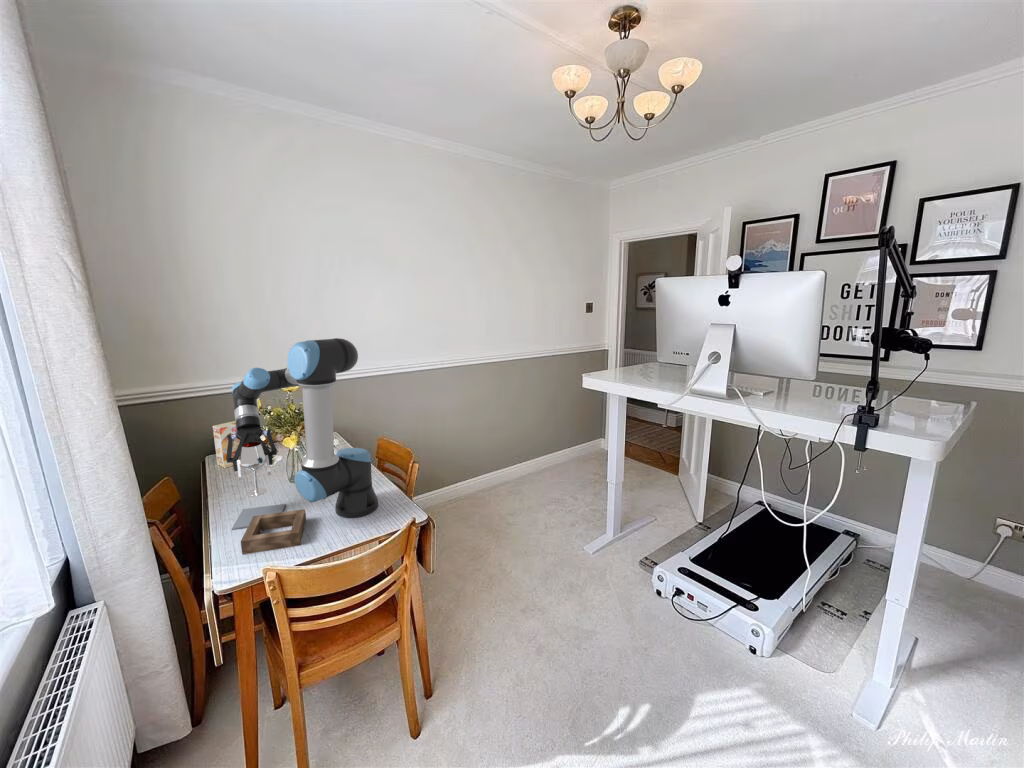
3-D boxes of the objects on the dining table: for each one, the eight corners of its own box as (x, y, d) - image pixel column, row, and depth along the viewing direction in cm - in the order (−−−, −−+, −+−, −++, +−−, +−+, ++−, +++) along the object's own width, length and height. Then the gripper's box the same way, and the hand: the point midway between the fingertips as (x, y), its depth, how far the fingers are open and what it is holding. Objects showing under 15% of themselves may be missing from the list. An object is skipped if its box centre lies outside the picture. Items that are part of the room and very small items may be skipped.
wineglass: (274, 487, 152) (269, 440, 149) (262, 497, 144) (256, 448, 141) (251, 487, 152) (246, 440, 149) (238, 497, 144) (232, 448, 141)
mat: (285, 505, 159) (285, 503, 159) (278, 523, 146) (278, 521, 146) (243, 510, 154) (242, 509, 154) (232, 530, 141) (231, 528, 141)
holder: (306, 520, 148) (305, 508, 147) (299, 545, 133) (298, 532, 132) (254, 528, 143) (253, 516, 142) (242, 554, 128) (240, 541, 127)
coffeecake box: (224, 468, 192) (219, 428, 188) (217, 465, 196) (211, 425, 192) (257, 458, 205) (253, 420, 201) (250, 455, 208) (245, 418, 204)
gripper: (279, 420, 162) (288, 473, 152) (214, 429, 151) (219, 487, 141) (279, 410, 157) (288, 465, 147) (212, 418, 145) (217, 478, 136)
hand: (255, 475), depth 144 cm, fingers closed on wineglass, 8 cm apart
